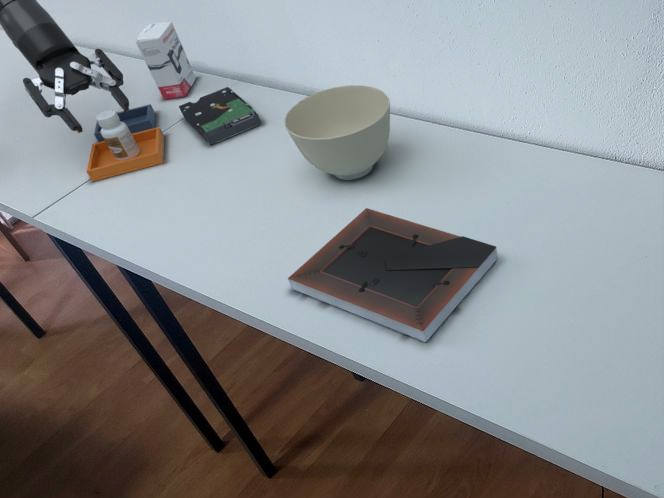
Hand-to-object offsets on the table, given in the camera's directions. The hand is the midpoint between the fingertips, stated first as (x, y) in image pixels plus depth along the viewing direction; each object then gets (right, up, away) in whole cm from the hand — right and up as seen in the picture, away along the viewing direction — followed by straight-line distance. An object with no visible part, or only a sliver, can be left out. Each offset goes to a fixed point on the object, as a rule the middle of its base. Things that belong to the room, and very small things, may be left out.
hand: (104, 119), depth 109 cm
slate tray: (-3, +3, +14) cm, 15 cm away
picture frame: (+52, -30, -25) cm, 65 cm away
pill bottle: (+1, -5, +6) cm, 7 cm away
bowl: (+44, -10, -6) cm, 45 cm away
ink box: (+2, +15, +24) cm, 28 cm away
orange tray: (+1, -5, +6) cm, 8 cm away
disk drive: (+16, +3, +11) cm, 20 cm away
